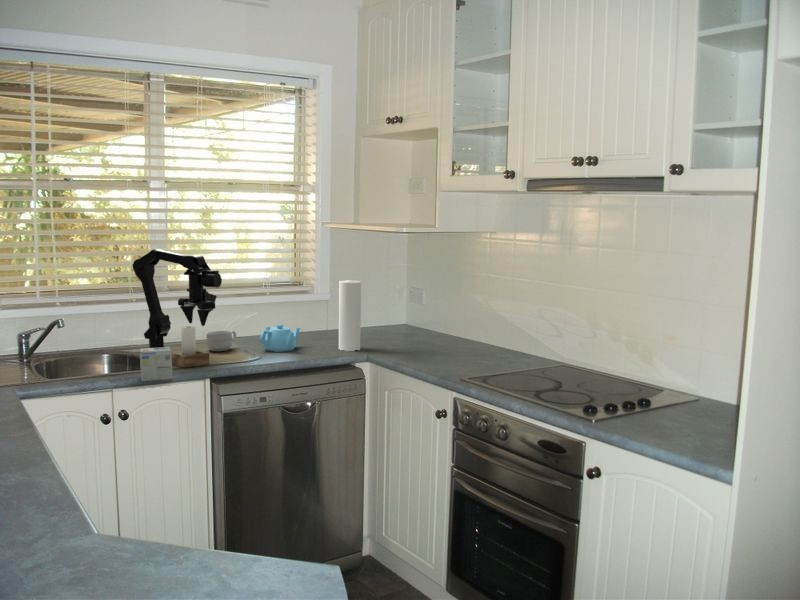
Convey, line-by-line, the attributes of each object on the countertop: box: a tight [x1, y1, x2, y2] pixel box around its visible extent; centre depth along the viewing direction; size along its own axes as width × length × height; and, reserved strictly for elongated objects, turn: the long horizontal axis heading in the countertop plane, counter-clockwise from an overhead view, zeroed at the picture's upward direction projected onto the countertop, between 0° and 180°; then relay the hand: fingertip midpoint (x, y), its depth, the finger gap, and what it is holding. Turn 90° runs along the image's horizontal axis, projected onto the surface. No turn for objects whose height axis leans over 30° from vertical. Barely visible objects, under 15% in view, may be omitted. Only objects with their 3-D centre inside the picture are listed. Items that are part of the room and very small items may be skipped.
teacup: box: [205, 330, 237, 352], centre depth 325 cm, size 14×11×8 cm
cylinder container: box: [338, 279, 362, 352], centre depth 330 cm, size 9×9×30 cm
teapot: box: [258, 324, 301, 353], centre depth 328 cm, size 15×15×11 cm
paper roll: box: [180, 325, 197, 356], centre depth 297 cm, size 5×5×13 cm
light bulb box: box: [139, 346, 173, 382], centre depth 271 cm, size 11×7×11 cm, turn 111°
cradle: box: [171, 349, 210, 368], centre depth 297 cm, size 12×10×4 cm
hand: (196, 324), depth 310 cm, fingers open, 9 cm apart
